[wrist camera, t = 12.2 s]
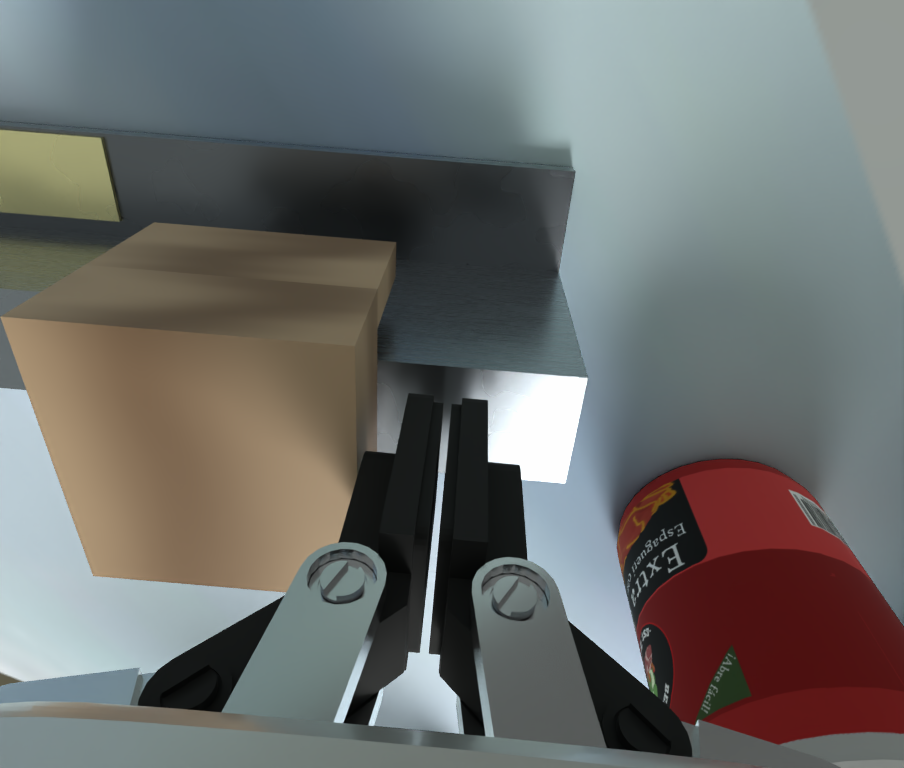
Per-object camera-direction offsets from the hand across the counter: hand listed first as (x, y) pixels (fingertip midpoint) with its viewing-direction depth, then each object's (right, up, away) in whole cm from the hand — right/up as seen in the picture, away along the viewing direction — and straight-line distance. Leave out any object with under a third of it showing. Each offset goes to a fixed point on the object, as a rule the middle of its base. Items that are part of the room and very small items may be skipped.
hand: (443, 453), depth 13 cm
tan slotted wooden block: (-4, +2, +4) cm, 6 cm away
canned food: (+11, -4, +12) cm, 17 cm away
